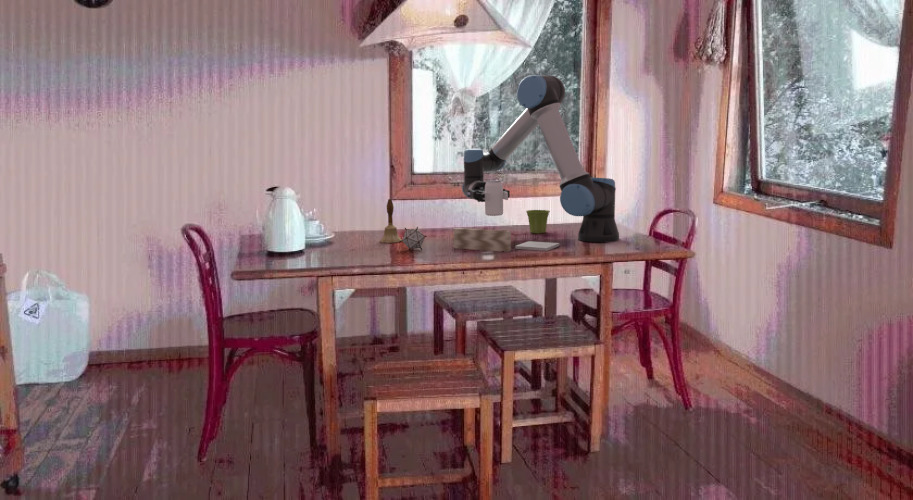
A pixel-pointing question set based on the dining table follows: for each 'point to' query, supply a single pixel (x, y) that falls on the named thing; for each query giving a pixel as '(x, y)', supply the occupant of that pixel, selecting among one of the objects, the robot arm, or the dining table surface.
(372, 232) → the dining table surface
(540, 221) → the plant pot
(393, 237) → the hand bell
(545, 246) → the pad
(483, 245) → the beige brown patterned panel
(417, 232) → the game die
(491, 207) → the can
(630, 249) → the dining table surface
